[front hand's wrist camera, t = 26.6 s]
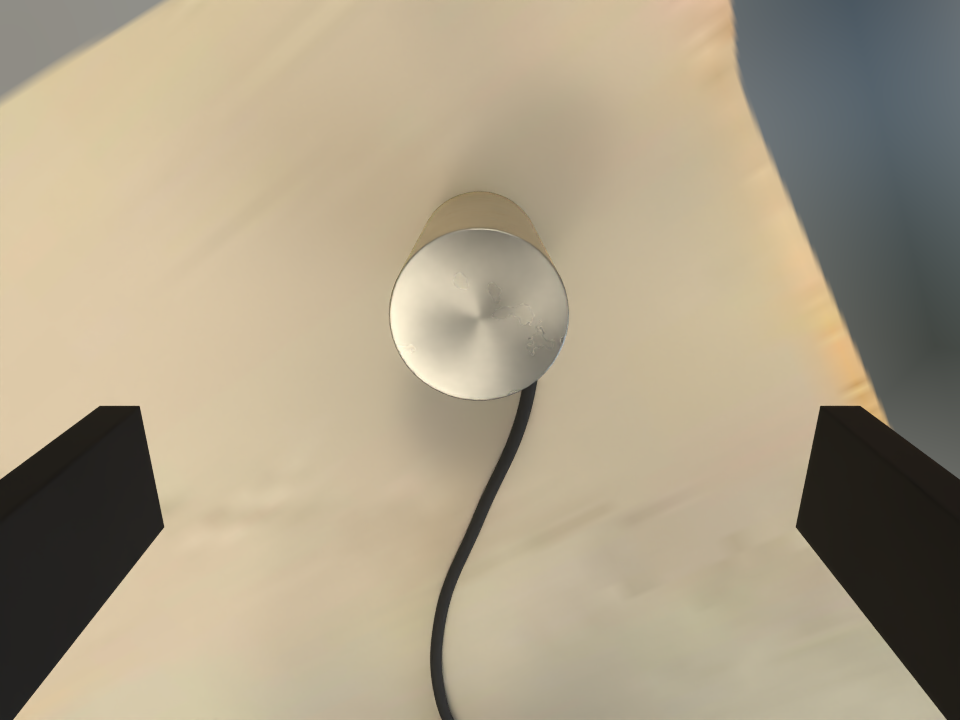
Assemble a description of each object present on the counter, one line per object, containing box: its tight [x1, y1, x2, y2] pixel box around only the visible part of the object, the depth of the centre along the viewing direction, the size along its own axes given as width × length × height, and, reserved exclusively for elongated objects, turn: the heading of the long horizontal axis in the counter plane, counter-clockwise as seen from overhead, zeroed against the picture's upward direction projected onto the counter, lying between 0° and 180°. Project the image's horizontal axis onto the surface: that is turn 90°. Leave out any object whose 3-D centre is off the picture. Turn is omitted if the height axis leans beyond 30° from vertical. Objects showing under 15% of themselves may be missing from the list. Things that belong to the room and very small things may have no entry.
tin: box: [389, 192, 569, 400], centre depth 28 cm, size 6×6×12 cm
